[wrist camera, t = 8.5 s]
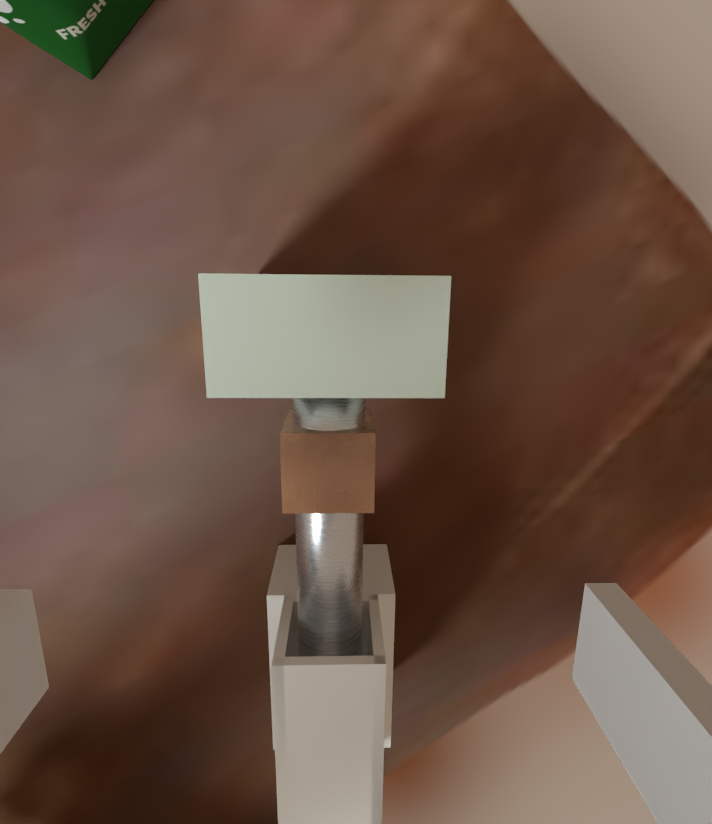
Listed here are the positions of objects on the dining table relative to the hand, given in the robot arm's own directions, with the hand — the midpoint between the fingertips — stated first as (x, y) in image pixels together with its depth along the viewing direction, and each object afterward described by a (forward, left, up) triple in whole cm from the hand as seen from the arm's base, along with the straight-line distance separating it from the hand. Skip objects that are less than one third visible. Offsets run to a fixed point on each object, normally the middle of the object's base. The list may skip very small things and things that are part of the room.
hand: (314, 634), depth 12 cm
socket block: (+6, 0, -23) cm, 23 cm away
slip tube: (-3, 0, -16) cm, 16 cm away
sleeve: (-16, 0, -23) cm, 28 cm away
